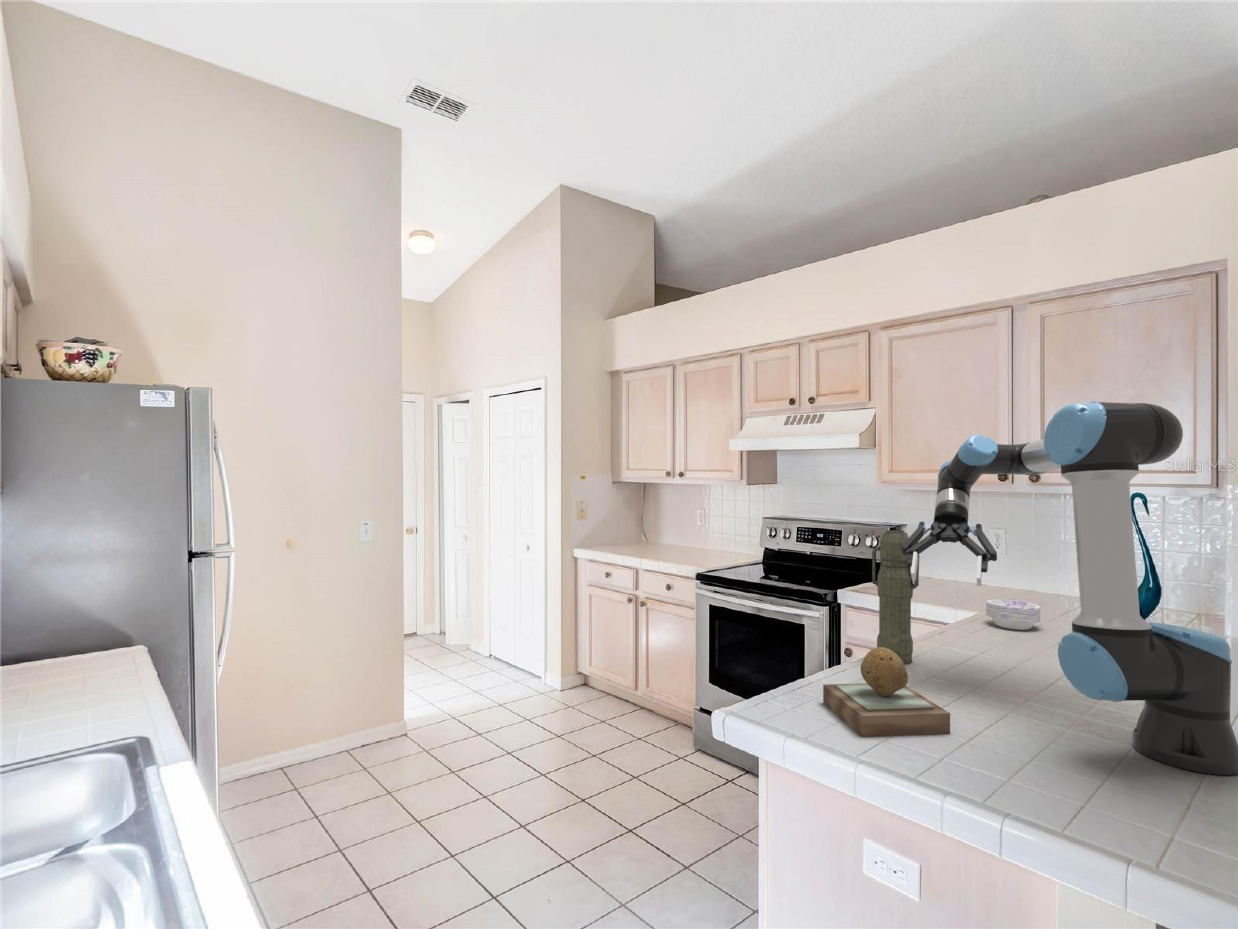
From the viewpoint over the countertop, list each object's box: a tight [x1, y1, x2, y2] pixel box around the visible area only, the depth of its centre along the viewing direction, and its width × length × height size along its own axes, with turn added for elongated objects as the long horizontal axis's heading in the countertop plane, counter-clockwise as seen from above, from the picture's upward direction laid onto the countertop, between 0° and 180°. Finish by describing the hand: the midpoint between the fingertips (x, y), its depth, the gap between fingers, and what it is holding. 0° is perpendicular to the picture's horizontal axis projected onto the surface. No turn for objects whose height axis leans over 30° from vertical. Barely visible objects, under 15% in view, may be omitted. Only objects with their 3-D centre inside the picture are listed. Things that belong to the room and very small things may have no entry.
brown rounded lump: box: [860, 646, 909, 697], centre depth 133 cm, size 9×9×10 cm
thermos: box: [871, 529, 920, 666], centre depth 173 cm, size 9×12×35 cm
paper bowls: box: [985, 599, 1041, 631], centre depth 211 cm, size 15×15×8 cm
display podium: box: [822, 682, 951, 738], centre depth 133 cm, size 18×18×4 cm
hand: (945, 579), depth 147 cm, fingers open, 13 cm apart
